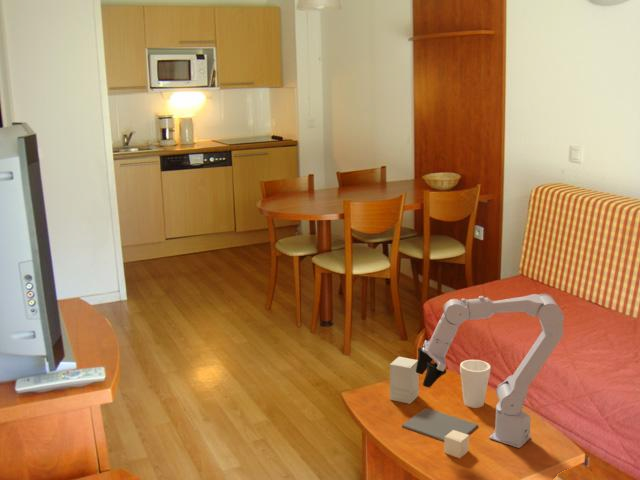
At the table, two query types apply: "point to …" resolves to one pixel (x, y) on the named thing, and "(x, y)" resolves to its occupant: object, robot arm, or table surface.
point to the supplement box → (403, 380)
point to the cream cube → (456, 443)
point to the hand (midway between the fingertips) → (422, 379)
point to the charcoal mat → (438, 424)
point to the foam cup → (474, 382)
